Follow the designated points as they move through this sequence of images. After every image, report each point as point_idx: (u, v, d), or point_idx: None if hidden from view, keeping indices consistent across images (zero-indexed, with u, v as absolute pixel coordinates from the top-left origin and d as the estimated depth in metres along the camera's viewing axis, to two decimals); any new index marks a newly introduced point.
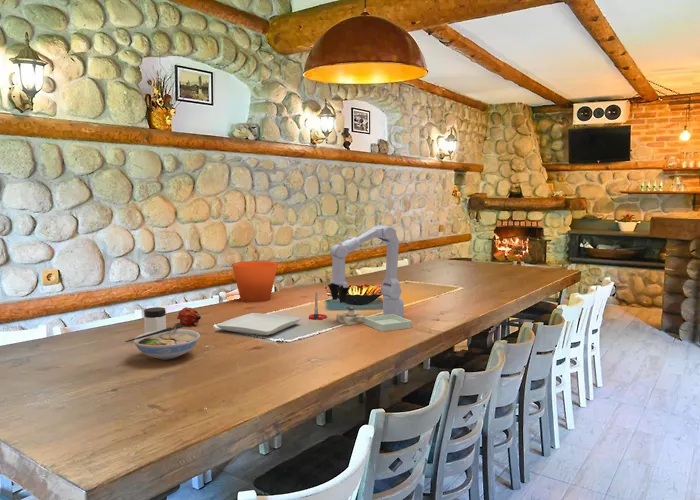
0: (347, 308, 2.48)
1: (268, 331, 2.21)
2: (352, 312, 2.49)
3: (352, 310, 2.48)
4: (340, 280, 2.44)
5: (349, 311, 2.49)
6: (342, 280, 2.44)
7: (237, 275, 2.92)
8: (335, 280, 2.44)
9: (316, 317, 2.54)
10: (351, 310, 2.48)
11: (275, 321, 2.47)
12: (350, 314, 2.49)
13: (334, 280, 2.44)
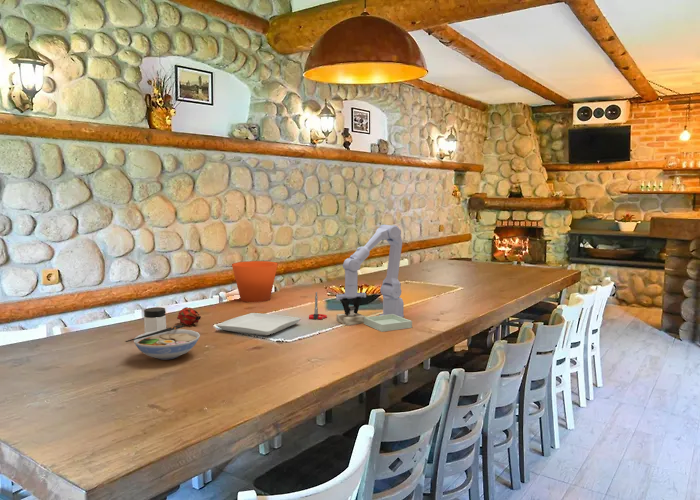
0: None
1: (268, 331, 2.21)
2: (352, 312, 2.49)
3: (352, 310, 2.48)
4: (345, 293, 2.48)
5: (349, 311, 2.49)
6: (346, 293, 2.47)
7: (237, 275, 2.92)
8: None
9: (316, 317, 2.54)
10: (351, 310, 2.48)
11: (275, 321, 2.47)
12: (350, 314, 2.49)
13: None
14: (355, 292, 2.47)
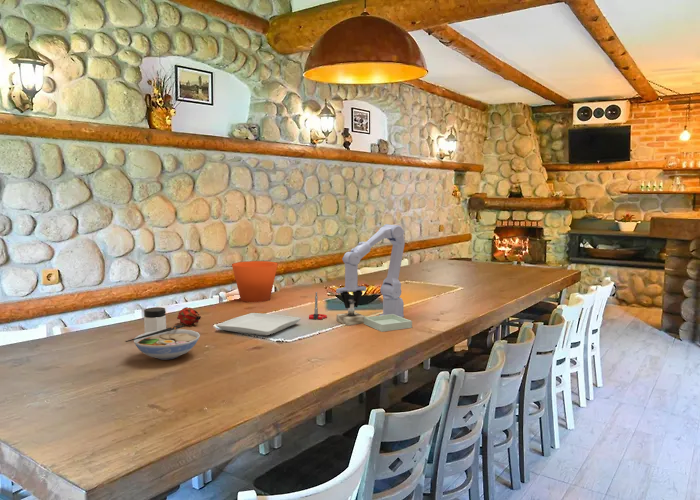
0: None
1: (268, 331, 2.21)
2: (352, 306, 2.48)
3: (352, 304, 2.48)
4: (345, 286, 2.48)
5: (349, 305, 2.48)
6: (346, 287, 2.47)
7: (237, 275, 2.92)
8: None
9: (316, 317, 2.54)
10: (351, 304, 2.48)
11: (275, 321, 2.47)
12: (350, 308, 2.48)
13: None
14: (355, 285, 2.47)
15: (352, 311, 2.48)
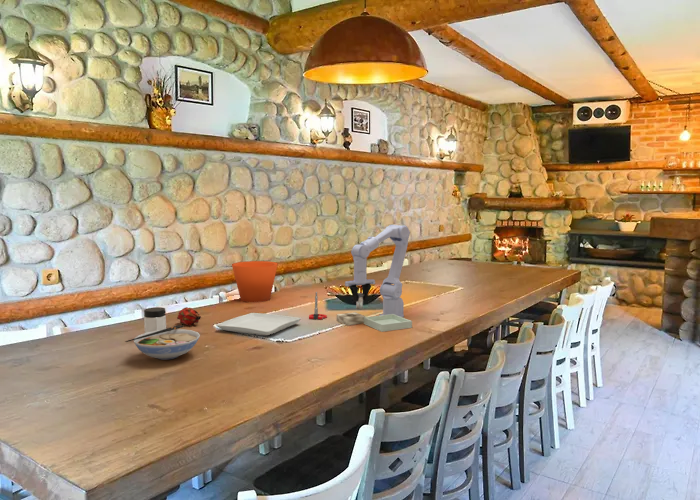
0: None
1: (268, 331, 2.21)
2: (361, 299, 2.46)
3: (361, 297, 2.46)
4: (354, 279, 2.46)
5: (358, 298, 2.46)
6: (355, 280, 2.45)
7: (237, 275, 2.92)
8: None
9: (316, 317, 2.54)
10: (360, 297, 2.46)
11: (275, 321, 2.47)
12: (359, 301, 2.46)
13: None
14: (364, 278, 2.44)
15: (360, 304, 2.46)
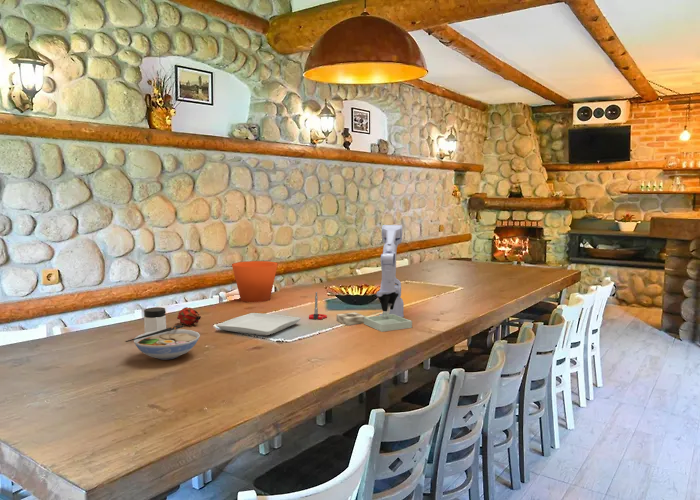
0: None
1: (268, 331, 2.21)
2: (389, 309, 2.42)
3: (389, 307, 2.42)
4: (383, 289, 2.40)
5: None
6: (385, 289, 2.39)
7: (237, 275, 2.92)
8: (381, 288, 2.42)
9: (316, 317, 2.54)
10: (389, 307, 2.41)
11: (275, 321, 2.47)
12: (387, 311, 2.41)
13: None
14: (394, 287, 2.40)
15: (388, 314, 2.42)
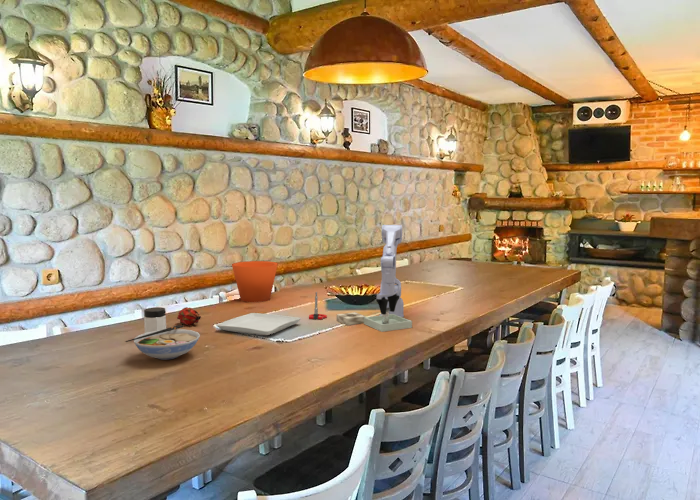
0: None
1: (268, 331, 2.21)
2: (388, 313, 2.42)
3: (388, 311, 2.42)
4: (383, 291, 2.40)
5: None
6: (385, 292, 2.39)
7: (237, 275, 2.92)
8: None
9: (316, 317, 2.54)
10: (387, 311, 2.42)
11: (275, 321, 2.47)
12: (386, 315, 2.41)
13: None
14: (394, 290, 2.40)
15: (387, 318, 2.42)
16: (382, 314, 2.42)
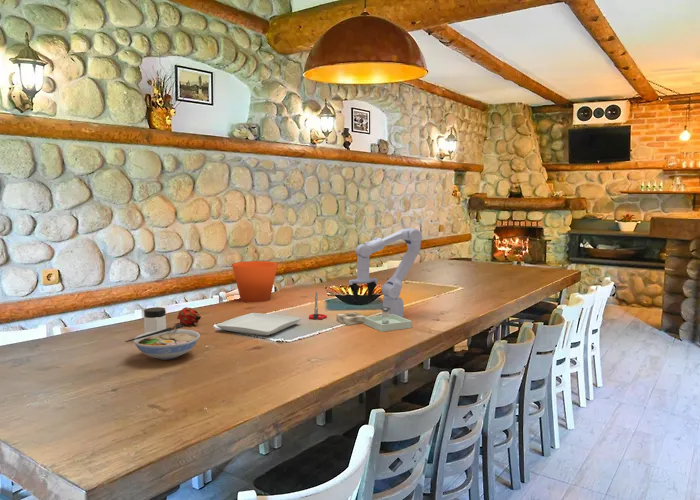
0: (383, 310, 2.41)
1: (268, 331, 2.21)
2: (388, 313, 2.42)
3: (388, 311, 2.42)
4: (357, 278, 2.54)
5: (385, 312, 2.41)
6: (358, 278, 2.53)
7: (237, 275, 2.92)
8: None
9: (316, 317, 2.54)
10: (387, 311, 2.41)
11: (275, 321, 2.47)
12: (386, 315, 2.41)
13: None
14: (367, 277, 2.53)
15: (387, 319, 2.42)
16: (382, 314, 2.42)
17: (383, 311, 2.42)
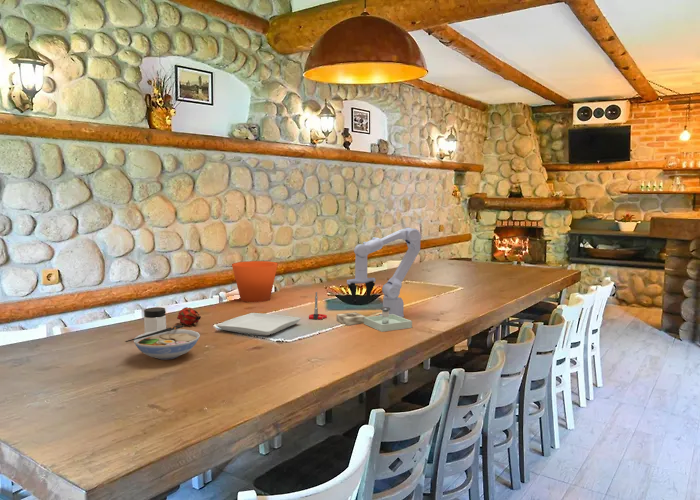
0: (383, 310, 2.41)
1: (268, 331, 2.21)
2: (388, 313, 2.42)
3: (388, 311, 2.42)
4: (355, 277, 2.56)
5: (385, 312, 2.41)
6: (356, 278, 2.55)
7: (237, 275, 2.92)
8: None
9: (316, 317, 2.54)
10: (387, 311, 2.41)
11: (275, 321, 2.47)
12: (386, 315, 2.41)
13: None
14: (365, 277, 2.54)
15: (387, 319, 2.42)
16: (382, 314, 2.42)
17: (383, 311, 2.42)
